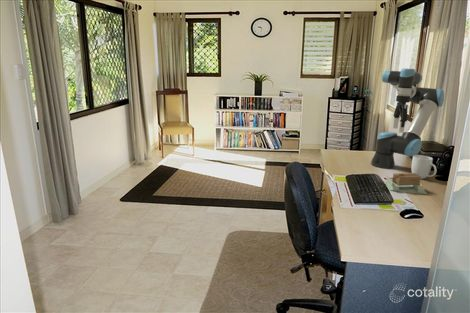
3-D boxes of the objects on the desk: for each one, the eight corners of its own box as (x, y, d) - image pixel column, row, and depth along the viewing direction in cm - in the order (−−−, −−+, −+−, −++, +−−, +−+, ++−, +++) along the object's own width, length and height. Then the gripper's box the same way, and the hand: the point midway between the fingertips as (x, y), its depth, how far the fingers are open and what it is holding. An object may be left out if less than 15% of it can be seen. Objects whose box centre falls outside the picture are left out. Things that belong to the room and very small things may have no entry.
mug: (438, 180, 217) (443, 159, 213) (429, 183, 211) (433, 162, 207) (415, 173, 228) (419, 154, 225) (405, 176, 223) (409, 156, 219)
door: (392, 181, 201) (393, 172, 199) (412, 181, 203) (414, 171, 202) (398, 185, 195) (400, 175, 194) (419, 184, 197) (421, 175, 196)
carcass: (384, 183, 208) (385, 174, 206) (418, 186, 205) (420, 178, 203) (389, 190, 195) (391, 182, 194) (426, 194, 192) (428, 185, 191)
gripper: (391, 93, 222) (386, 126, 228) (402, 96, 198) (396, 133, 204) (404, 93, 221) (398, 127, 227) (417, 97, 197) (410, 134, 203)
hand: (397, 130), depth 215 cm, fingers open, 13 cm apart
